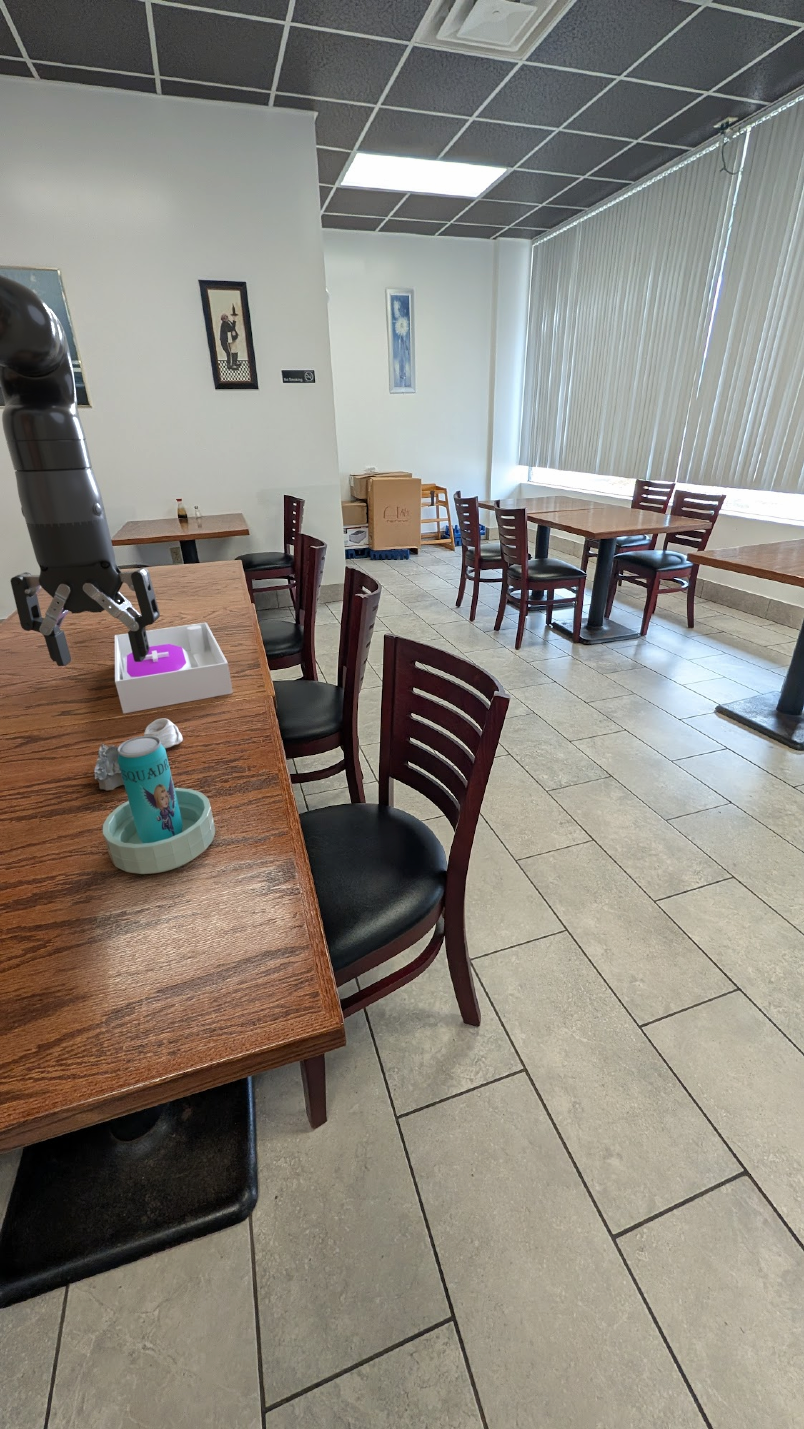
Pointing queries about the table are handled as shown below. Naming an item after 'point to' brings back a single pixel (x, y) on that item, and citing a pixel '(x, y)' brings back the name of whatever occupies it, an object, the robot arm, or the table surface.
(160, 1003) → the table surface
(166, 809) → the beverage can
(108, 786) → the grey sculpture
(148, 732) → the white hollow rounded piece
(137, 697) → the white open box
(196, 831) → the bowl
